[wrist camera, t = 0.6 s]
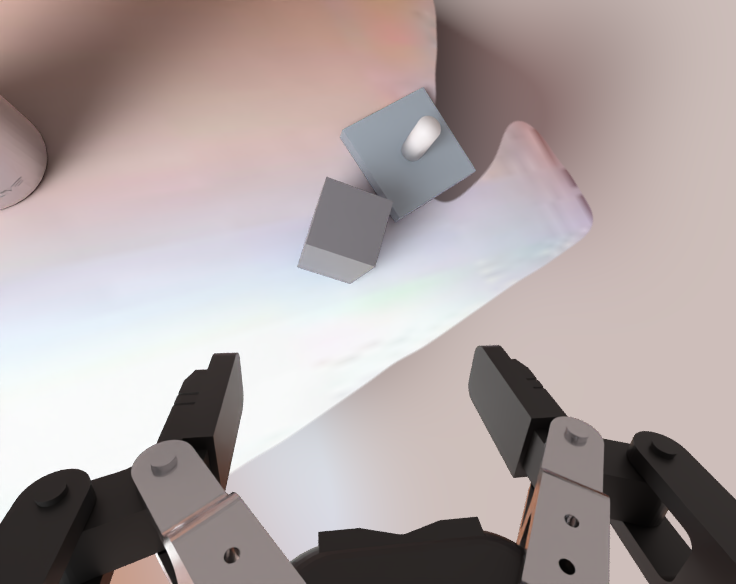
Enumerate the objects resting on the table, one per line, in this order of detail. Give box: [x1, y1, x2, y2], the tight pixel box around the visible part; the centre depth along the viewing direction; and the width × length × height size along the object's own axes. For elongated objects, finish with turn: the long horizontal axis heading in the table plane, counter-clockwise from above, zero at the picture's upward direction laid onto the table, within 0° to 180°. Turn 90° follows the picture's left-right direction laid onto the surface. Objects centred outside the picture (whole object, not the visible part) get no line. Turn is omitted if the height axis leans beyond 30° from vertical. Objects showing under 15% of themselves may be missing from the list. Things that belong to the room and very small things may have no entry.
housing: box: [297, 177, 393, 284], centre depth 33 cm, size 5×5×10 cm
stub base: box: [340, 88, 476, 222], centre depth 38 cm, size 10×10×6 cm
